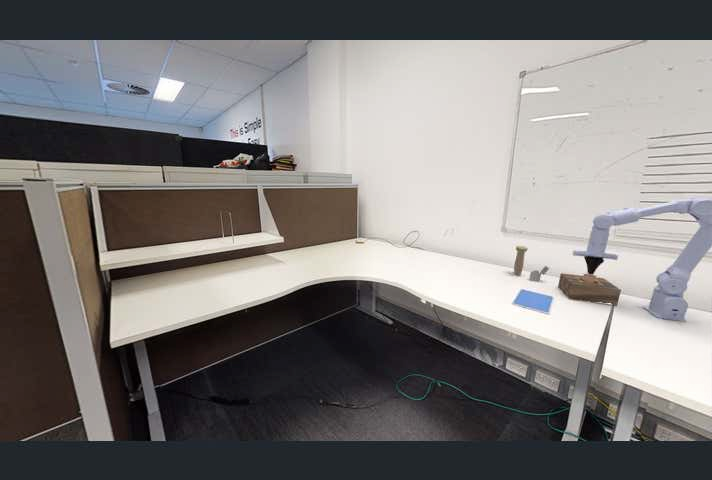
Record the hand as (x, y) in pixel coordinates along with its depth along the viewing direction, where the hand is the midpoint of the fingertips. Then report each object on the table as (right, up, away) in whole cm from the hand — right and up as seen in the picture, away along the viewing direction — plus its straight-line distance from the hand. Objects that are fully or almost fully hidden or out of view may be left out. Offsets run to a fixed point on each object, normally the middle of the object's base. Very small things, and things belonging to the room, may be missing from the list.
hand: (590, 273), depth 113 cm
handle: (-15, -4, +27) cm, 31 cm away
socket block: (0, -10, +2) cm, 10 cm away
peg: (0, -7, +2) cm, 7 cm away
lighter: (-10, -6, +19) cm, 22 cm away
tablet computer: (-27, -12, -4) cm, 30 cm away
